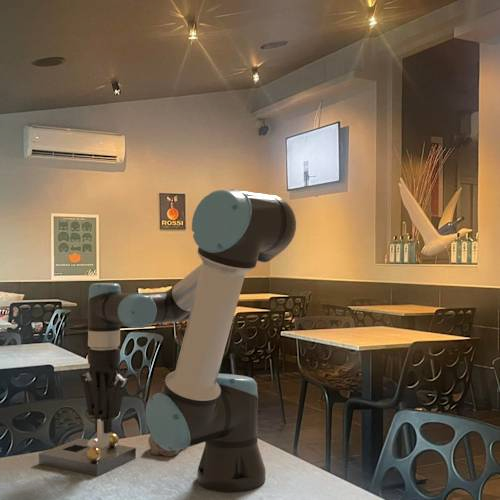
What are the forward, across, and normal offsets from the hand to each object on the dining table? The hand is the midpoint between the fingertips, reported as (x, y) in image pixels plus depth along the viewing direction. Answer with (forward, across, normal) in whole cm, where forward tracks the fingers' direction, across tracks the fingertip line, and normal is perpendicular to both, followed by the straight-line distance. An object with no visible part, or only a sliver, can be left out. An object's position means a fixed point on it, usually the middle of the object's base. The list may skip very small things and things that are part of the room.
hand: (103, 445), depth 146 cm
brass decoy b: (0, +2, -5) cm, 5 cm away
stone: (+5, -8, -17) cm, 19 cm away
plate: (+4, +5, 0) cm, 6 cm away
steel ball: (0, +3, 0) cm, 3 cm away
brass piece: (0, -2, +5) cm, 6 cm away
